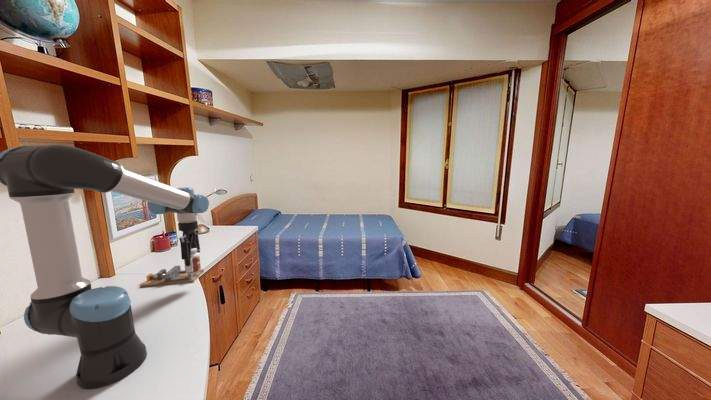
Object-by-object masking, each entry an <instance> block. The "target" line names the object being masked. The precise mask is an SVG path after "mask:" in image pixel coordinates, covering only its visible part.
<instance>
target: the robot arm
mask: <svg viewBox="0 0 711 400" xmlns="http://www.w3.org/2000/svg"><path fill="white" fill-rule="evenodd" d="M0 183H1V184H2V185H4V186H5V187H6V188H7V193H8V198H9V199H10V200H13V201H14V202H17V203H19V205H20V209H21V214H22V217H23V223H24V228H25V232H26V238H27V243H28V247H29V252H30V256H31V260H32V266H33V267H32V268H33V271H34V276H35V281H36V285H37V288H36V290H34V291H33V292H32V293H31V294H30V302H29V305H28V306H27V307H25V310H24V313H23V320H24V323H25V325H26V326H27V328H29V329H30V330H32V331H34V332H37V333H39V334H42V335H55V336H63V337H70V338H71V337H72V338H75V339H77V343H78V347H79V351H80V357H79V361H78V366H77V370H76V373H75V380H76V384H77V386H78V387H79V388H81V389H83V390H84V389H85V390H91V389H97V388H100V387H101V388H102V387H105V386H108V385H111V384H113V383H116V382H117V381H120V380H121V379H123V378H125V377H127V376H128V375H130V374H131V373H133V372H134V371H136V369H138V368H139V367H140V366H141V365H142V364H143V363H144V362H145V360H146V359H147V356H148V352H147V346H146V345H145V343H144V342H143V341H142V340H141V338H140V337H139V336H138V335H137V333H136V329H135V321H134V317H133V311H132V310H133V309H132V305H131V303H132V301H131V299H130V296H129V293H128V291H127V289H125V288H123V287H121V286H117V285H115V286H114V285H110V286H109V285H108V286H104V287H103V286H100V287H94V288H92V284H91V280H89V279H88V278H85V277H83V275H82V270H81V269H82V268H81V264H80V257H79V252H78V247H77V241H76V235H75V230H74V226H73V225H74V224H73V219H72V213H71V209H70V208H71V207H70V202H69V200H70V199H71V198H72V197H73V196H74V195H75V194H76V193H75V192H76V191H75V190H87V191H88V190H89V191H95V192H99V193H103V194H107V193H110V192H113V193H116V194H119V195H123V196H127V197H131V198H134V199H138V200H142V201H145V202H147V209H148V211H149V212H150V213H151V214H152V215H164V214H176V218H177V222H178V223H177V225H178V226H177V227H178V231H180V232H182V237H179V239H178V240H179V243H180V254H181V260H184V259H185V263H184V267H185V266H186V273H188V272H193V263H192V258H191V248H197V253H201V246H200V240H199V239H200V238H199V230H197V229H199V225H198V220H197V219H198V215H199V214H204V213H205V212H207V211H208V209H209V205H210V201H209V199H208V197H207V196H206V195H204V194H195V191H194V188H193V187H185V186H184V187H174V186H171V185H168V184H166V183H164V182H161V181H158V180H155V179H152V178H150V177H147V176H145V175H142V174H139V173H136V172H135V171H131V170H128V169H126V168H124V167H123V165H122V164H121V163H119V162H117V161H115V160H112V159H109V158H108V157H104V156H102V155H100V154H96V153H94V152H90V151H88V150H85V149H82V148H79V147H75V146H72V145H66V144H65V145H64V144H50V145H49V144H47V145H46V144H43V145H42V144H41V145H37V144H36V145H21V146H16V147H11V148H8V149H5V150H3V151H1V152H0Z"/></svg>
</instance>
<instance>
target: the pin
mask: <svg viewBox="0 0 711 400" xmlns="http://www.w3.org/2000/svg"><path fill="white" fill-rule="evenodd" d="M154 278H157V275H155V274H153V273H149V274H148V275H146V281H148V280H151V279H154ZM163 278H165V274H163Z"/></svg>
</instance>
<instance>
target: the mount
mask: <svg viewBox="0 0 711 400" xmlns="http://www.w3.org/2000/svg"><path fill="white" fill-rule="evenodd" d="M204 271H205V270H204V268H203V269H202V268H201V271H200V272H198V273H195V274H186V271H185V269H184V270H182V268H181V265H179V264H178V265H175V266H173V267H172V268H170V269H169V270H168V271H167V269H166V268H163V269H161V270H159V271H158V272H156V273H155V274H154V275H157V278H154V279H151V280H148V281H147V280H145V281H144V282H143V283H141V284H140V285H139V288H149V287H151V288H152V287H159V286H168V285H179V284H181V285H182V284H189V283H195V281H196V280H197V279H198V278H199V277H200V276H201V275H202V273H204ZM163 274H165V278H163Z"/></svg>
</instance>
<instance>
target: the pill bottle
mask: <svg viewBox="0 0 711 400" xmlns="http://www.w3.org/2000/svg"><path fill="white" fill-rule="evenodd" d="M191 258H192V263H193V272H188V273H186V274H195V273H198V272H200V271H201V270H202V266H201V258H200V252H198V253H197V248H191ZM183 261H184V262H183V263H184V264H185V259H183ZM184 270H185V271H186V266H185V265H184Z"/></svg>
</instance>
